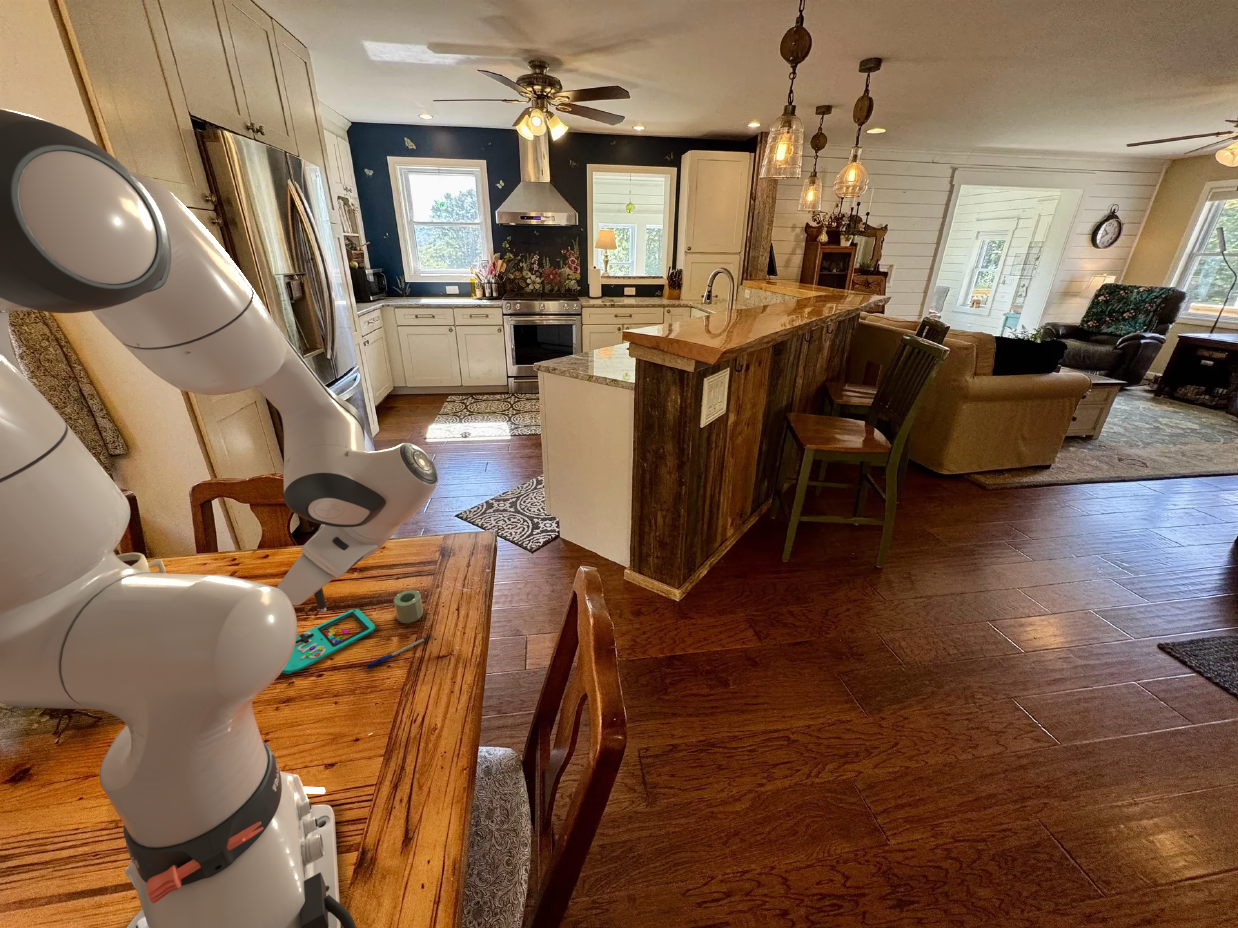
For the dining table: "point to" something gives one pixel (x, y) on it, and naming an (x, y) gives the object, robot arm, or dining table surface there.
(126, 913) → the dining table surface
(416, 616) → the green hollow cylinder
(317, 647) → the handheld gaming console
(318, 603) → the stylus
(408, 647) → the ballpoint pen
